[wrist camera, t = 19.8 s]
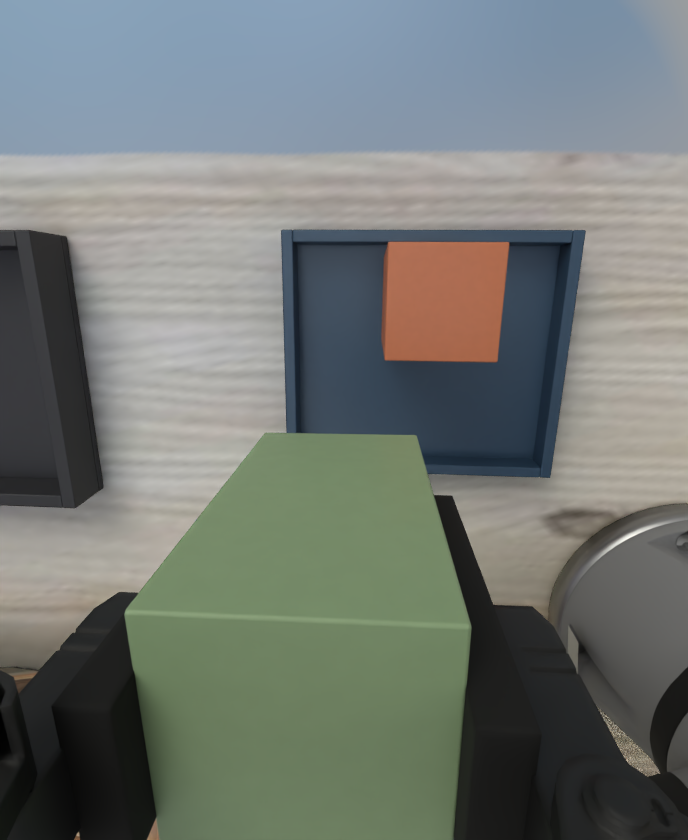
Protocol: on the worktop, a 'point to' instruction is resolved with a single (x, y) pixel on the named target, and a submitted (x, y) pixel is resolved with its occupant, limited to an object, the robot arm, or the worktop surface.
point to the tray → (429, 380)
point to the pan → (43, 378)
